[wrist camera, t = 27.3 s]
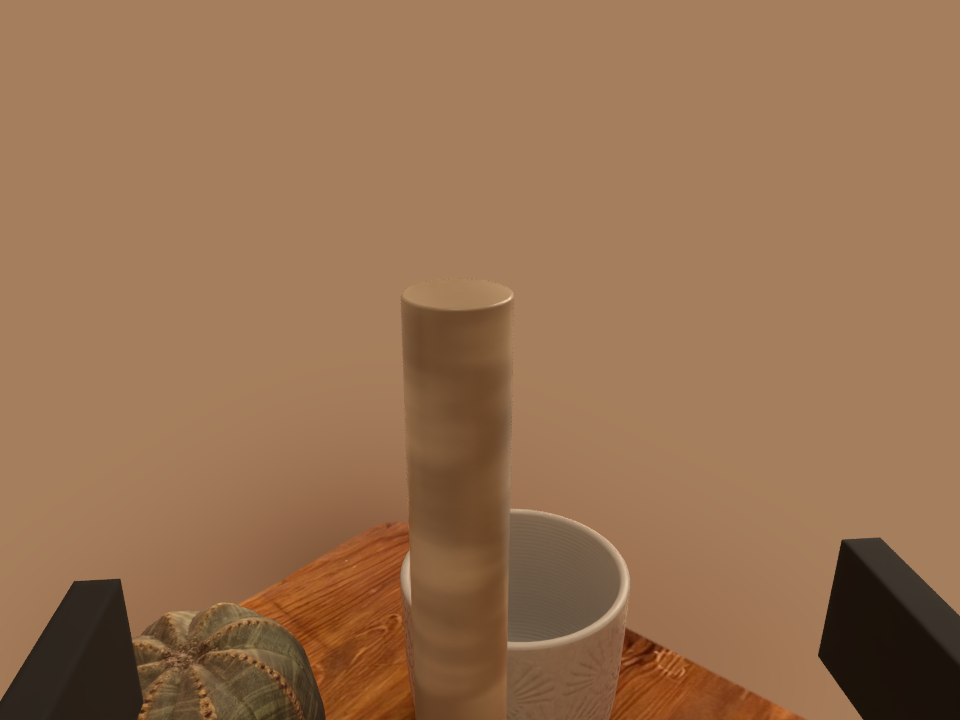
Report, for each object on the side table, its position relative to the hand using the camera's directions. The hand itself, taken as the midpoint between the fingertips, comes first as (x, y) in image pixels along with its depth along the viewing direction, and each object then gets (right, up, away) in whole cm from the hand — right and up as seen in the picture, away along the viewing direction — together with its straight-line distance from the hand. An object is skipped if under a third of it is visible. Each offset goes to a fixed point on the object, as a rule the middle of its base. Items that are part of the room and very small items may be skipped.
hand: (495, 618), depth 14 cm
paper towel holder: (-1, -21, +18) cm, 28 cm away
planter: (+2, -17, +32) cm, 36 cm away
